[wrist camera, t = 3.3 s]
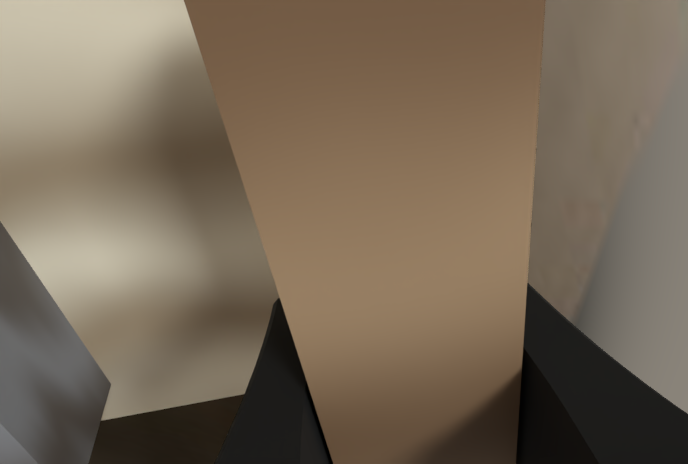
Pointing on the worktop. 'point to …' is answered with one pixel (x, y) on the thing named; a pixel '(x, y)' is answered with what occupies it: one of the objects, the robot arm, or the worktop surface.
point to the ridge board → (116, 226)
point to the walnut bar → (391, 206)
